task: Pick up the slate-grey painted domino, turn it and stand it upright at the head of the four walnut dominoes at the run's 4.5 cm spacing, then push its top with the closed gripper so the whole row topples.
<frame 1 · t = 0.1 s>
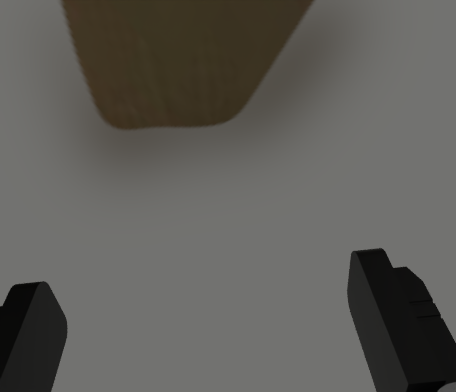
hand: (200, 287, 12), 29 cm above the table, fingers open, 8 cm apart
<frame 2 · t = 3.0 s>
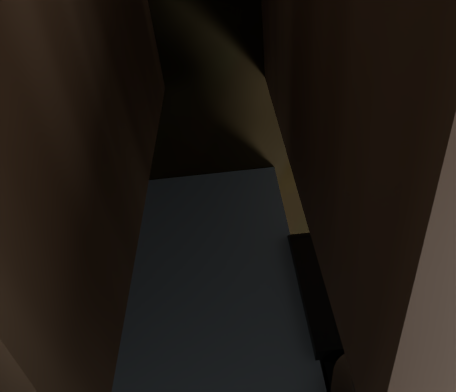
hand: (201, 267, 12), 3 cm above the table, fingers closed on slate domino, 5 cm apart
slate domino: (202, 193, 15), on the table, touching gripper
when the fingers open (4 cm above the table, at t = 8.4 s): slate domino stays where it is, on the table.
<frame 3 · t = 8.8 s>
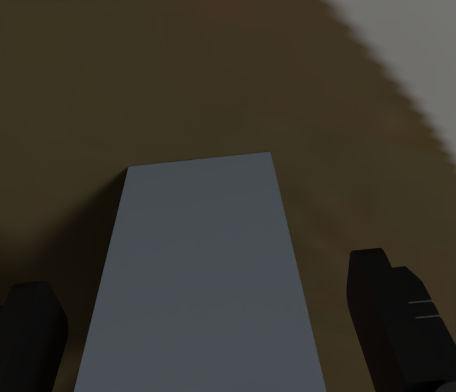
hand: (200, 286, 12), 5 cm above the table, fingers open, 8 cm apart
slate domino: (202, 177, 16), on the table
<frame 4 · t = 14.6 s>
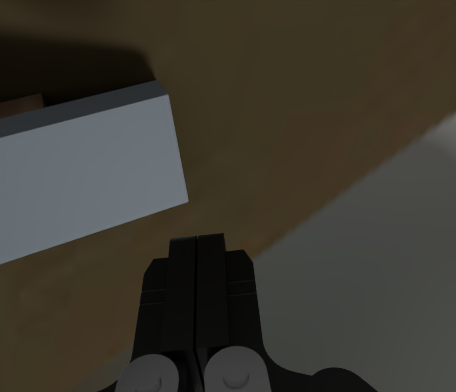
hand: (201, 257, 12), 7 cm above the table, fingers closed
slate domino: (173, 143, 18), point 1 cm above the table, tilted 69°, touching walnut domino 2
walnut domino 2: (63, 155, 18), point 1 cm above the table, tilted 69°, touching slate domino, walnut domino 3
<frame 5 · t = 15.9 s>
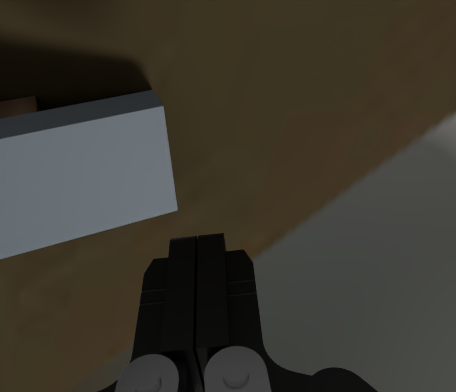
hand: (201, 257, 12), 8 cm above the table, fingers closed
slate domino: (165, 153, 18), point 1 cm above the table, tilted 70°, touching walnut domino 2
walnut domino 2: (53, 158, 18), point 1 cm above the table, tilted 71°, touching slate domino, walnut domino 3
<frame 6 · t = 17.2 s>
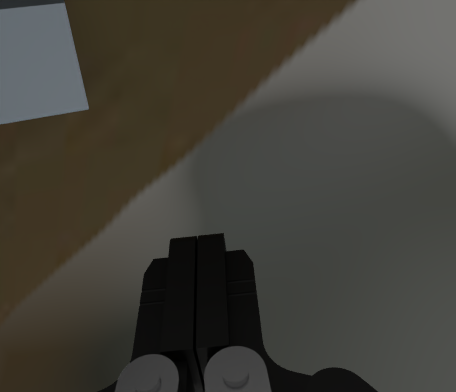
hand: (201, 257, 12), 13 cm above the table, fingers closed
slate domino: (75, 54, 21), point 1 cm above the table, tilted 70°
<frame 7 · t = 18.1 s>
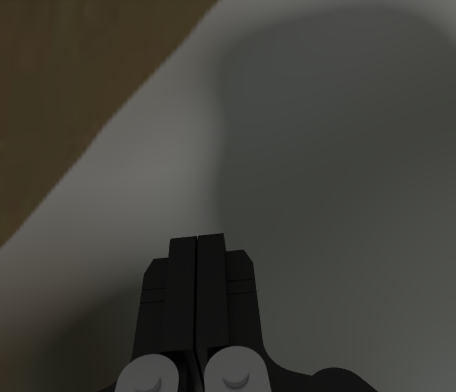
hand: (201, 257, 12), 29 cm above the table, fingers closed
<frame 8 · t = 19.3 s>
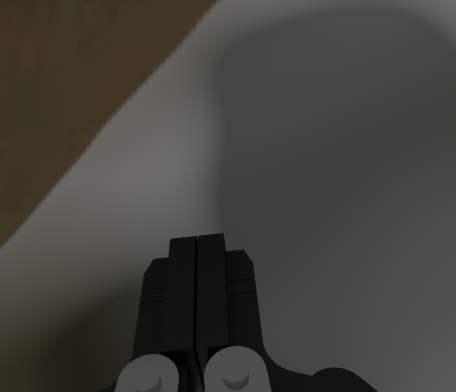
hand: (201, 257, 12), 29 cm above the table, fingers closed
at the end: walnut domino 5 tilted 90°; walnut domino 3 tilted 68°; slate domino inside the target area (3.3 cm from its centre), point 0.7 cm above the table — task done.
